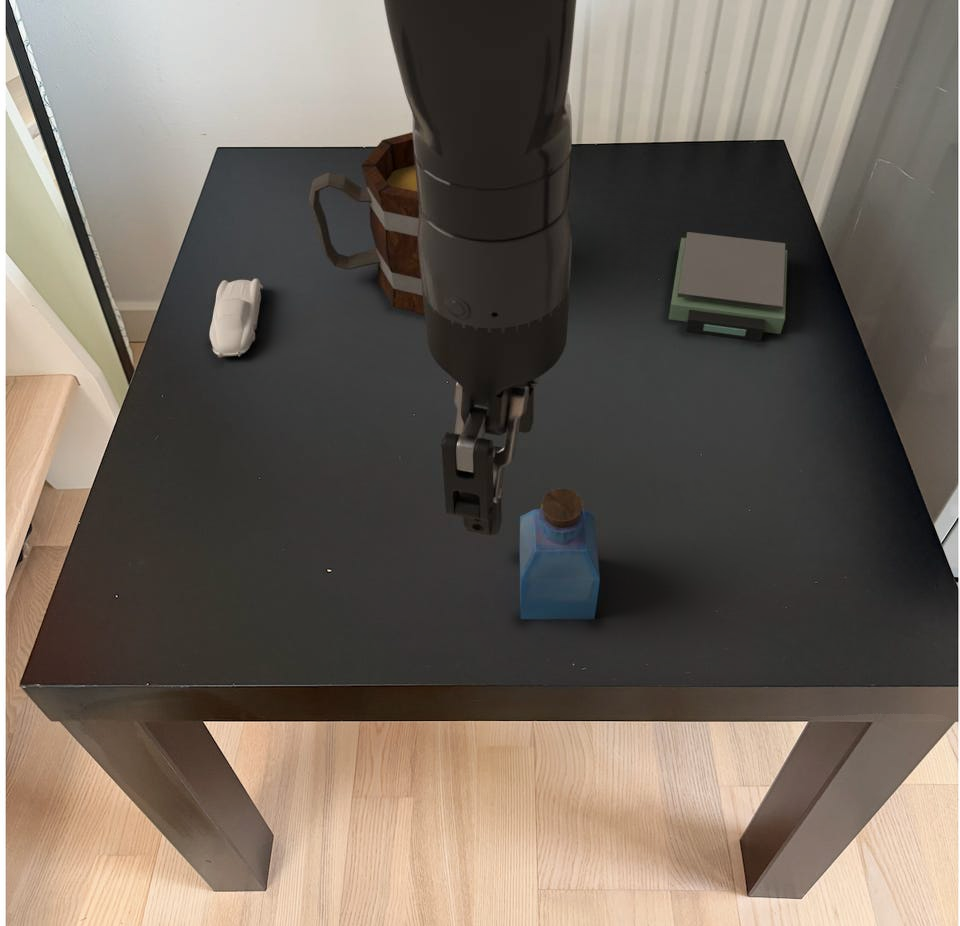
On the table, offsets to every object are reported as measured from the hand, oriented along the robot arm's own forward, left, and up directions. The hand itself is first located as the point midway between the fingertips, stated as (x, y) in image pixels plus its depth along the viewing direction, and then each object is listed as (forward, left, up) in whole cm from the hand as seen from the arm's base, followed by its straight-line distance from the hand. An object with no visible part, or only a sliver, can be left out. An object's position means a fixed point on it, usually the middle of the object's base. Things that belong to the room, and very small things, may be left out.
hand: (500, 474), depth 58 cm
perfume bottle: (-3, -6, -22) cm, 23 cm away
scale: (-15, -49, -22) cm, 56 cm away
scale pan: (-15, -49, -20) cm, 55 cm away
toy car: (+37, -32, -22) cm, 54 cm away
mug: (+21, -44, -22) cm, 53 cm away
